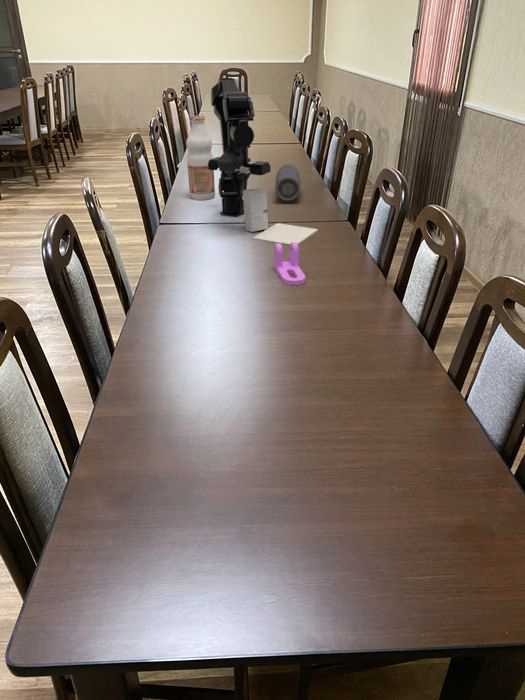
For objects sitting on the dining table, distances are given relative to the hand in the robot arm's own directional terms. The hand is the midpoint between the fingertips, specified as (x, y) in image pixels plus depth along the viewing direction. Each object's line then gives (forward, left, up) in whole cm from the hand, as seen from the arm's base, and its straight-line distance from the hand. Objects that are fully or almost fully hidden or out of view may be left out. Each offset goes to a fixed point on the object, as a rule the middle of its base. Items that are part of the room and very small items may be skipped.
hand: (239, 195), depth 164 cm
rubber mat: (+16, 0, -10) cm, 19 cm away
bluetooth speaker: (-3, +41, -10) cm, 42 cm away
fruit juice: (-31, +25, -10) cm, 41 cm away
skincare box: (+6, 0, -10) cm, 12 cm away
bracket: (+31, -28, -10) cm, 43 cm away
